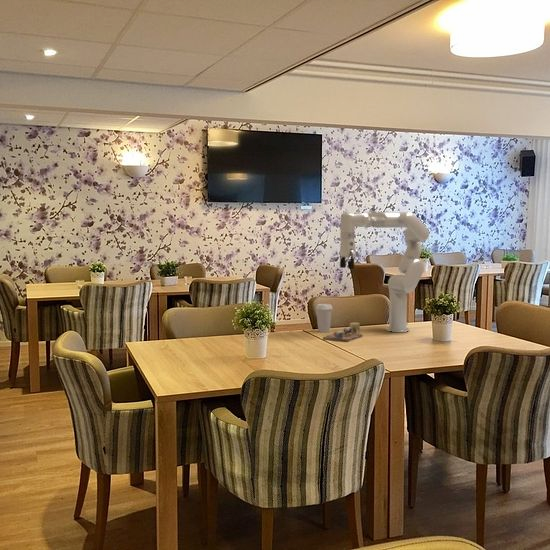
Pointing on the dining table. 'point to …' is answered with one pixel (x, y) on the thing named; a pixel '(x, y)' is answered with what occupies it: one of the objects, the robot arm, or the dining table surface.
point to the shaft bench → (343, 335)
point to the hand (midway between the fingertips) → (346, 268)
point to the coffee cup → (324, 317)
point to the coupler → (355, 327)
